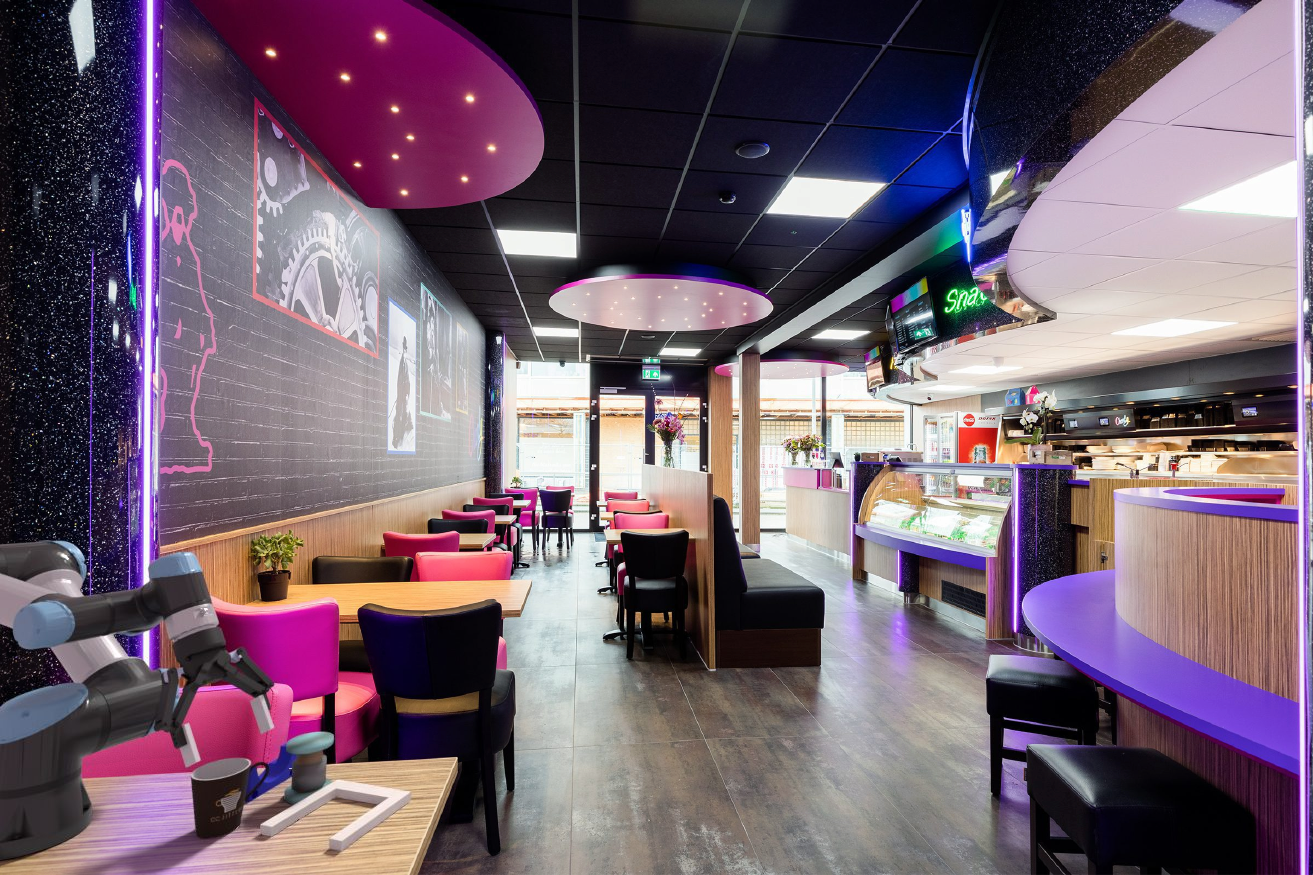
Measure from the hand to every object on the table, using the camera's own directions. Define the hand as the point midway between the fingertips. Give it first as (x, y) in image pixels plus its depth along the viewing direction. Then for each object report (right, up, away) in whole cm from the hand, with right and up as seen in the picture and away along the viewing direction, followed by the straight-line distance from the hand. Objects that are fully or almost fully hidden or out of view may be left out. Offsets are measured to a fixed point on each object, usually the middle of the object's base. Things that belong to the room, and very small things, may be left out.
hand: (232, 746), depth 111 cm
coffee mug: (+1, -13, -2) cm, 13 cm away
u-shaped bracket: (+18, -13, +1) cm, 22 cm away
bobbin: (+8, -14, +9) cm, 18 cm away
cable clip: (-2, -14, +12) cm, 19 cm away
